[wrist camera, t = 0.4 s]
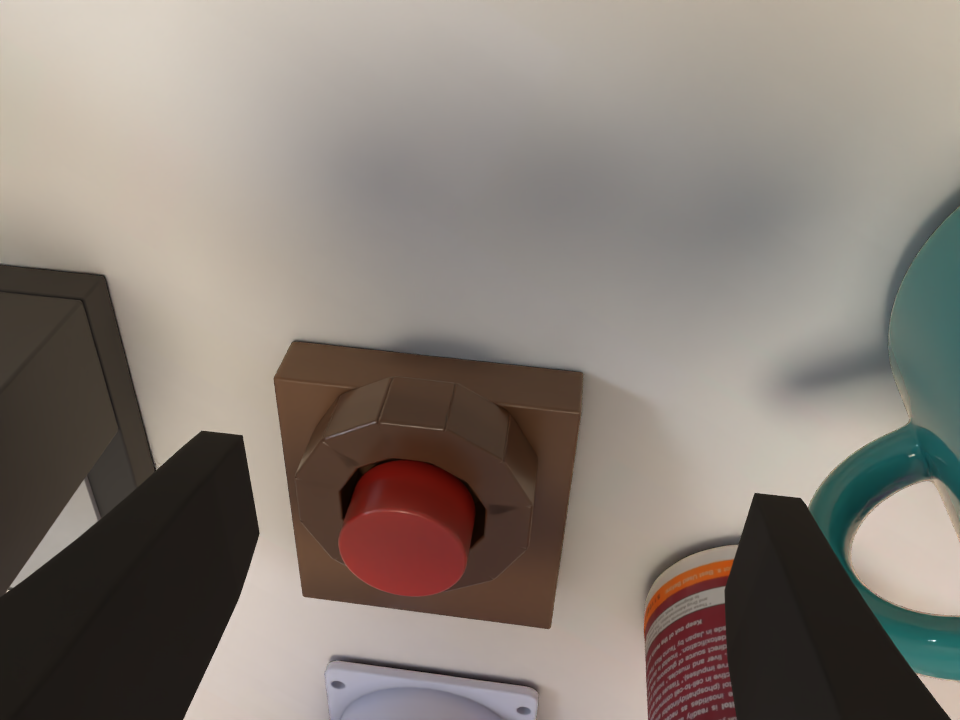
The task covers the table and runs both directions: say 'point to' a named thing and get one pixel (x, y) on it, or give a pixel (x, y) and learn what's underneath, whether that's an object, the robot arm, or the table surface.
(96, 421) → the coffee maker
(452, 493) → the button
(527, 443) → the control box
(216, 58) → the table surface
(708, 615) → the pill bottle
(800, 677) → the robot arm
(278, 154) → the table surface
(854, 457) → the cup
